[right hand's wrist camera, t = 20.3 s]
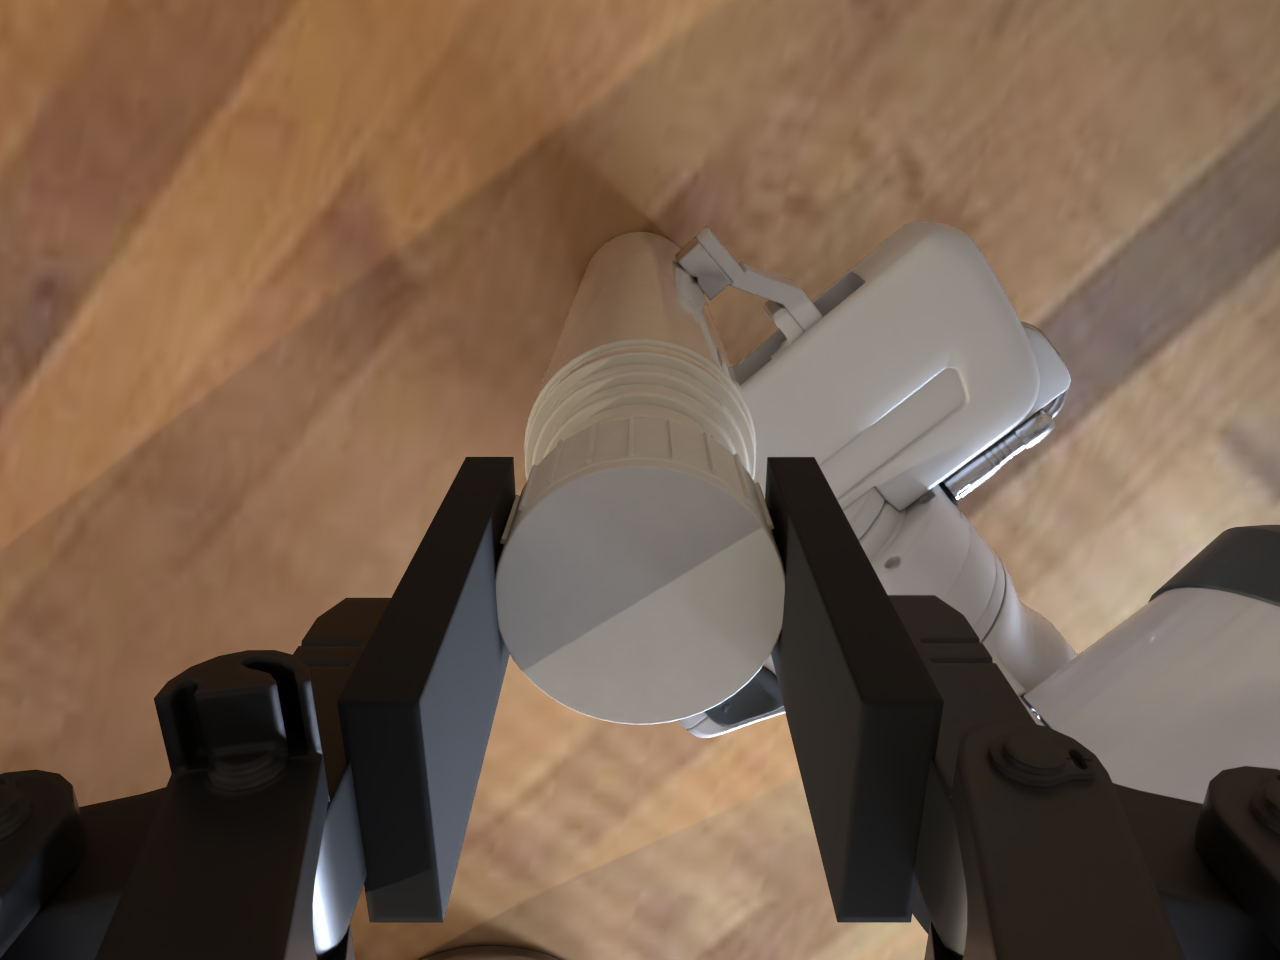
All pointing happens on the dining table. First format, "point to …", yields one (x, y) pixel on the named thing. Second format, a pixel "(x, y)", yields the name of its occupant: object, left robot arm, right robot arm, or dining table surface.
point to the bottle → (639, 354)
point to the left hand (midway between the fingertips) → (622, 303)
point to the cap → (640, 573)
